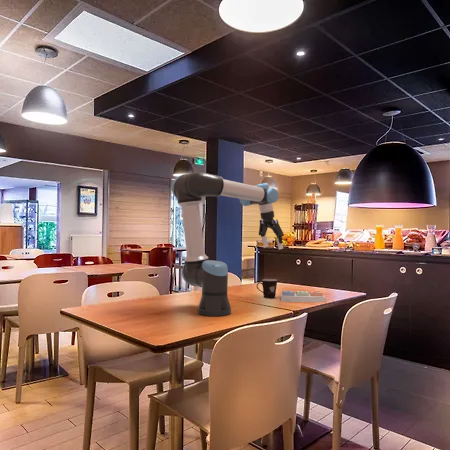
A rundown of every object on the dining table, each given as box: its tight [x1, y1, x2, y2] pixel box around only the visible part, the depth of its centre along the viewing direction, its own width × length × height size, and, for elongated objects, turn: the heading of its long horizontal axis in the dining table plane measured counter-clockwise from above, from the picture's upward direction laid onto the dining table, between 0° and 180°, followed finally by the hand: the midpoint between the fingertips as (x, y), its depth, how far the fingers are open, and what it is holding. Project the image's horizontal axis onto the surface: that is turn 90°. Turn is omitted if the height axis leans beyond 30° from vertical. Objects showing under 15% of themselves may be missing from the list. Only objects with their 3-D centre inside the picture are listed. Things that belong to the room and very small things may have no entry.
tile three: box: [309, 290, 324, 296], centre depth 211 cm, size 6×6×3 cm
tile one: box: [281, 290, 296, 296], centre depth 212 cm, size 6×6×3 cm
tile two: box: [295, 290, 310, 296], centre depth 212 cm, size 6×6×3 cm
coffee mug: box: [256, 278, 278, 300], centre depth 220 cm, size 12×9×10 cm
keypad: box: [279, 292, 326, 304], centre depth 211 cm, size 23×10×3 cm, turn 86°
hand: (273, 248), depth 219 cm, fingers open, 13 cm apart
